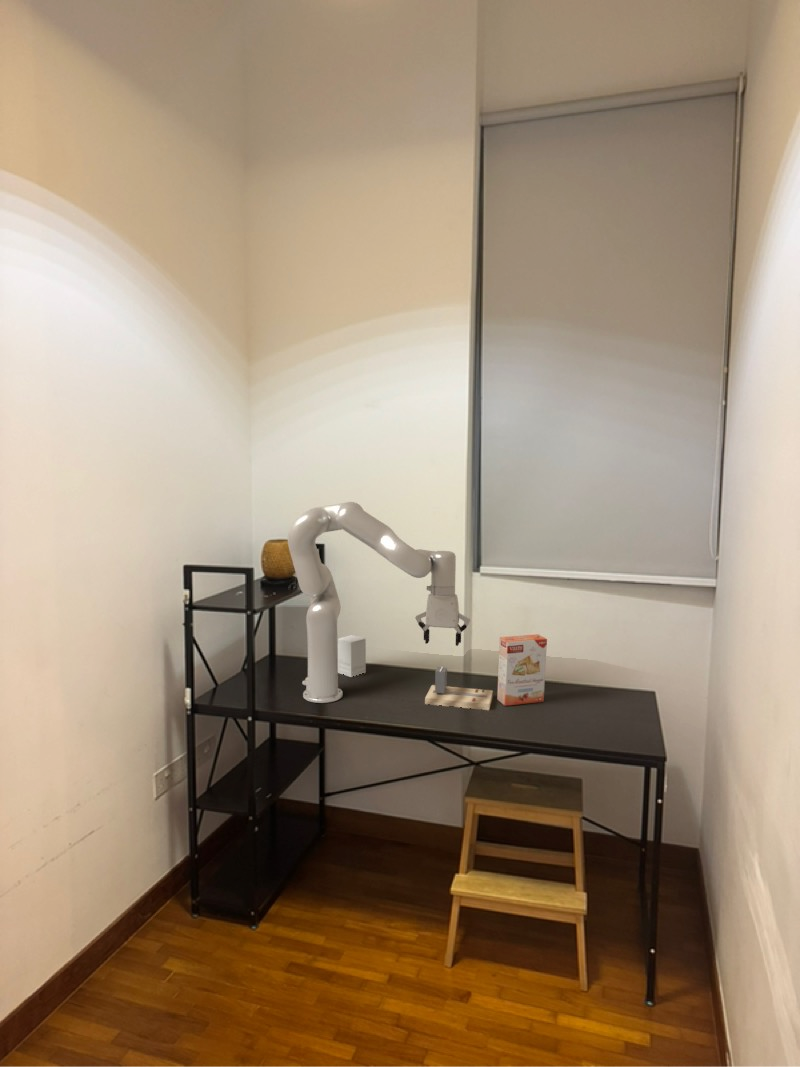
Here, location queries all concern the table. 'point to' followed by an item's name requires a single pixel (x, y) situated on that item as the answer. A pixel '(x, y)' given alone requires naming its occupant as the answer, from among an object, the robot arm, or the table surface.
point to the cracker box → (521, 669)
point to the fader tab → (440, 680)
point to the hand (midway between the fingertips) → (442, 643)
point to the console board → (460, 698)
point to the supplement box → (351, 655)
